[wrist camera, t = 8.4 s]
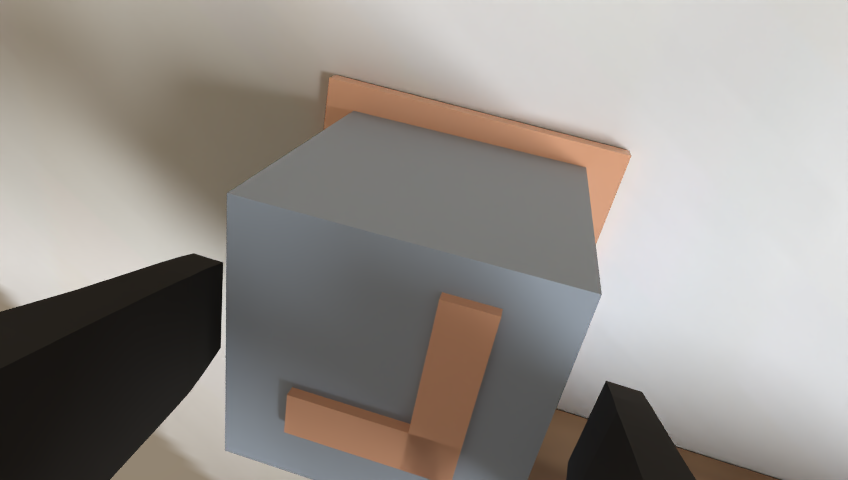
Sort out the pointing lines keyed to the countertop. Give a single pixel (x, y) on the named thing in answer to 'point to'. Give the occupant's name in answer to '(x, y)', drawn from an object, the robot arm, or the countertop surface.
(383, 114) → the terracotta tile
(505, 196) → the lettered cube
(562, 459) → the walnut screen
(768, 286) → the countertop surface
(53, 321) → the robot arm
